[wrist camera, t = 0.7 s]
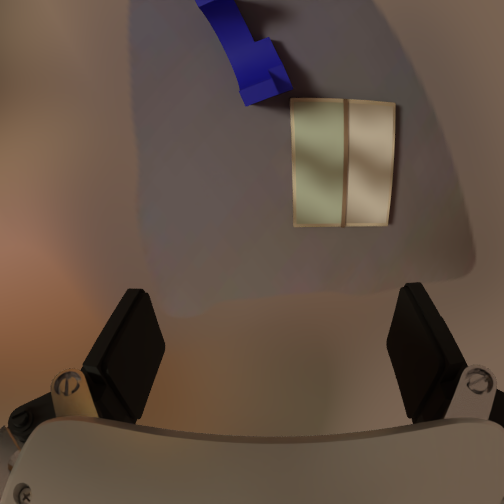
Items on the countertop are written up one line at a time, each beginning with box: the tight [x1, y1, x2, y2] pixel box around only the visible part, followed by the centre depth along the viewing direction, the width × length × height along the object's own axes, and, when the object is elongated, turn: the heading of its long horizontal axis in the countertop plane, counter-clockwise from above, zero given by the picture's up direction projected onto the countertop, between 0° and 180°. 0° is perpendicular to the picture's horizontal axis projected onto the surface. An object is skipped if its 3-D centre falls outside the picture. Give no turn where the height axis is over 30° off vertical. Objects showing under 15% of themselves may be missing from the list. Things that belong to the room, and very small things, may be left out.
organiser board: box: [290, 98, 395, 227], centre depth 31 cm, size 14×11×2 cm
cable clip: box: [195, 0, 293, 106], centre depth 24 cm, size 12×4×6 cm, turn 23°
